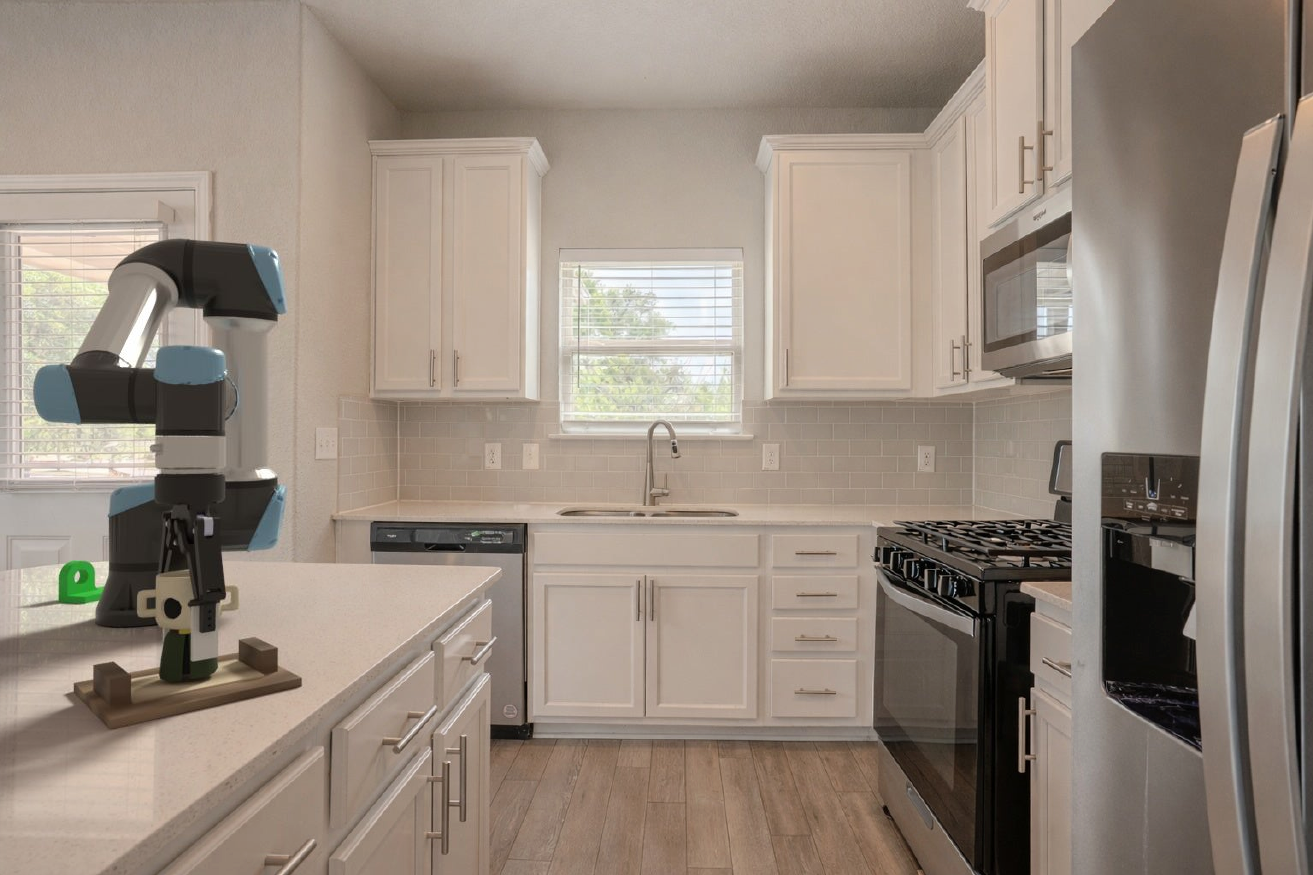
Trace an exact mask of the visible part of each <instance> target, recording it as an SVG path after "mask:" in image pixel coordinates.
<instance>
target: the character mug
mask: <svg viewBox="0 0 1313 875" xmlns="http://www.w3.org/2000/svg"><path fill="white" fill-rule="evenodd" d="M225 591H226V593H230V602H227V603H225V602H223V600H220V603H218V622H219V621H220V619H221V617H222V615H223V612H230V611H235V610H238V609H239V607H240V586H239V584H236V583H230V584H225ZM154 597H156V609H147V598H154ZM192 599H194V596H193V590H192V585H191V579H190V573H189V570H180V571H172V572H167V573H162V574H159V575H157V576H156V589H155V590H143V591H140V592H139V593H138V595H137V614H138V617H142V618H145V617H156V621H157V623H158V624H157V625H158V627H159V628H162V629H163V628H166V629H170V631H169V632H168V633H167V634H166V636H165V638H164V643H163V642H162V644H163V645H162V649H161V650H162V651H161V654H160V655H161V656H160V663H159V667H160V669H159V676H160V679H162V680H166V681H180V680H182V675H187V674H190V679H197V678H201V677H206V676H208V675H211V674H213V673H215V671H216V670H217V669H218V661H217V657H215V658H209V659H204V660H198V661H191V607H188V602H189V601H190V600H192Z"/></svg>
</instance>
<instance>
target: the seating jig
mask: <svg viewBox="0 0 1313 875" xmlns="http://www.w3.org/2000/svg"><path fill="white" fill-rule="evenodd" d="M217 661H218V669H217V670H216V671H215V673H213V674H211V675H208V676H206V677H201V678H197V679H190V674H187V675H182V680H180V681H166V680H162V679H160V676H159V669H160V666H159V667H157V666H156V667H153V668H146V669H142V670H137V671H131V672H128V671H127V670H125V669H124V668H123V667H121V666H120V665H119V664H117V663H116V662H115V661H109V662H102V663H96V664H93V665H92V666H93V669H92V671H93V675H92V676H93V678H92V679H88V680H82V681H77V682H73V692H74V693H75V694H76V696H78V697H79V698H80V699H81V700H82V701H83V703H84V705H85V704H86V705H87V707H88V708H89V709H90V710H91V711H92V712H93V713H94V714H95V715H96V716H97V718H98V719H100V721H102V723H103V724H104V725H106V727H108V729H109V730H112V729H117V728H122V727H126V726H130V725H135V724H139V723H144V722H147V721H153V720H157V719H162V718H166V717H171V716H175V715H179V714H183V713H189V712H192V711H196V710H201V709H206V708H210V707H215V706H218V705H219V706H220V705H223V704H227V703H231V702H236V701H241V700H246V699H249V698H253V697H259V696H263V695H267V694H271V693H276V692H280V691H285V690H288V689H294V688H298V687H299V688H300V687H302V686H303V677H301V676H300V675H297V674H295V673H294V672H292V671H290V670H287V669H286V668H284V667H282V666H279V648H278V647H277V646H274V645H273V644H270V643H269V642H266V641H264V640H262V639H260V638H258V637H256V636H253V637H252V636H251V637H247V638H241V639H238V652H235V653H234V652H233V653H229V654H223V655H218V657H217Z"/></svg>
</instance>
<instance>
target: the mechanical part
mask: <svg viewBox="0 0 1313 875" xmlns="http://www.w3.org/2000/svg"><path fill="white" fill-rule="evenodd" d="M95 570H96V568H95V567H94V565H93V564H92V563H91V562H89V561H86V560H70V561H68V562H66V563H65V564H64V565H63V566H62V567H61V569H60V571H59V574H58V603H67V604H68V603H69V604H84V605H86V604H90V603H95V602H99V599H100V597H101V594H102V591H103V589H104V586H105V585H102V586H98V587H96V571H95ZM77 573H79V577H78V579H77V581H76V579H75V576H76V574H77Z"/></svg>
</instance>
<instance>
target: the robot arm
mask: <svg viewBox="0 0 1313 875" xmlns="http://www.w3.org/2000/svg"><path fill="white" fill-rule="evenodd" d="M284 279H285V278H284V274H283V269H282V264H281V260H280V256H279V254H278V252H277V251H276V250H274V249H273V248H271V247H268V246H263V245H255V244H250V243H238V242H228V241H227V242H224V241H223V242H222V241H215V240H214V241H211V240H200V239H199V240H198V239H189V238H179V237H178V238H169V239H164V240H159V241H156V242H153V243H150V244H147V245H145V246H142V247H141V248H139V249H136V250H135V251H133V252H132V253H130V254H128V255H127V256H125V257H124V258H123V259H122V260H121V261H120V262H118V263H117V265H116V266H115V267H114V269H113V270H112V272H111V273H110V275H109V277H108V280H107V281H108V282H107V290H108V296H107V297H106V299H105V301H104V303H103V305H102V307H101V309H100V310H99V312H98V314H97V316H96V318H95V319H94V321H93V323H92V325H91V327H90V329H89V331H88V332H87V334H86V336H85V338H84V339H83V341H82V343H81V344H80V347H79V349H78V350H77V353H76V354H75V356H74V357H73V359H72V361H71V363H70V364H66V363H59V364H47V365H44V366H41V367H40V368H39V369H38V370H37V372H36V373H35V377H34V380H33V387H32V395H33V403H34V406H35V410H36V412H37V414H38V415H39V417H40V418H41V419H43V420H44V421H45V422H49V423H58V424H59V423H60V424H61V423H62V424H75V425H78V426H79V425H80V426H81V425H123V424H124V425H131V424H132V425H155V426H154V428H155V429H154V430H155V431H154V436H155V439H154V441H155V444H151V445H150V446H149V452H151V453H155V455H154V457H155V458H154V467H155V469H157V470H160V473H156V476H154V479H153V480H154V481H153V482H147V483H141V484H140V483H139V484H134V485H133V484H132V485H126V486H121V487H118V488H116V489H114V490H113V491H112V493H111V494H110V497H109V512H108V514H107V518H108V577H107V579H106V582H105V584H104V585H103V586H104V589H103V591H102V594H101V597H100V599H99V601H97V605H96V607H95V615H94V616H95V619H94V620H95V624H97V625H98V626H99V625H100V626H104V627H115V628H117V627H119V628H120V627H121V628H122V627H124V628H125V627H141V626H142V627H143V626H150V625H151V626H152V625H158V623H157V621H156V617H145V618H142V617H138V614H137V595H138V593H139V592H140V591H143V590H155V589H156V576H157V575H159V574H162V573H167V572H172V571H180V570H189V573H190V579H191V585H192V590H193V596H194V599H192V600H190V601H189V602H188V607H191V661H198V660H204V659H209V658H215V657H218V656H219V621H218V603H220V600H222V601H223V600H226V597H227V592H226V591H225V585H226V583H225V573H224V571H225V570H224V564H223V555H222V554H223V553H229V552H231V553H233V552H235V553H236V552H246V553H250V552H254V551H267V550H270V549H273V548H275V546H277V545H278V542H279V540H280V536H281V532H282V526H283V522H284V521H283V520H284V515H285V509H286V502H287V492H288V491H287V486H286V485H284V484H279V483H278V479H279V478H278V474H277V473H276V471H274V470H273V469H271V468H270V466H269V333H270V331H272V330H273V329H274V328H275V327H277V326H278V323H279V322H278V321H279V319H278V317H279V315H285V314H286V313H287V312H288V306H287V295H286V288H285V287H286V286H285V280H284ZM175 308H183V309H184V308H185V309H187V308H188V309H196V310H197V309H198V310H202V320H203V321H204V322H205V323H206V324H207V325H208V326H209V327H210V328H211V330H212V347H208V346H199V345H182V344H180V345H179V344H177V345H175V344H173V345H164V346H162V347H159V349H158V350H157V351H156V356H155V357H156V358H155V366H154V367H143V365H144V363H145V360H146V358H147V355H148V353H149V351H150V349H151V347H152V345H153V341H154V339H155V337H156V335H157V333H158V330H159V328H160V325H161V324H162V321H163V318H164V316H166V315H168V314H170V313H171V312H172V311H173V310H174V309H175ZM147 609H156V597H154V598H147ZM169 631H170V629H166V628H162V644H163V643H164V638H165V636H166V634H167V633H168V632H169Z"/></svg>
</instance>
